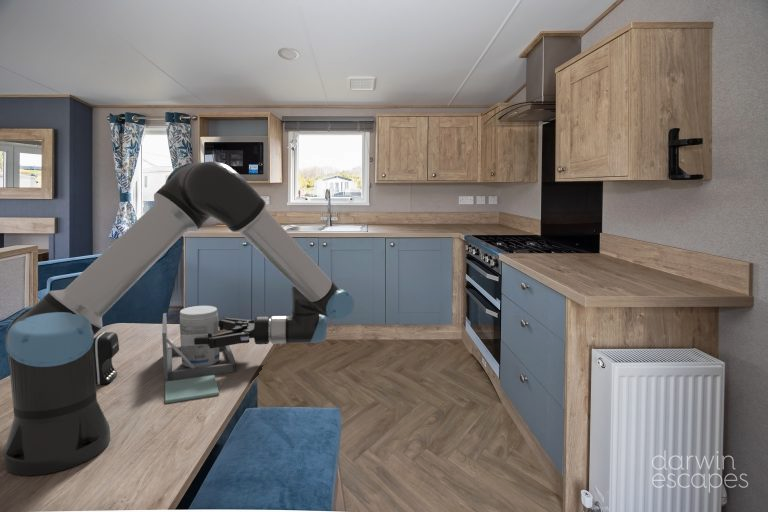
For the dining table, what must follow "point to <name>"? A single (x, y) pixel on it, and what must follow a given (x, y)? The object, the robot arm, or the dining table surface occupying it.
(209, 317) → the supplement tub
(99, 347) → the battery charger
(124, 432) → the dining table surface
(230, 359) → the grey open frame
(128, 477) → the dining table surface
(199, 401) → the dining table surface
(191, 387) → the mat
